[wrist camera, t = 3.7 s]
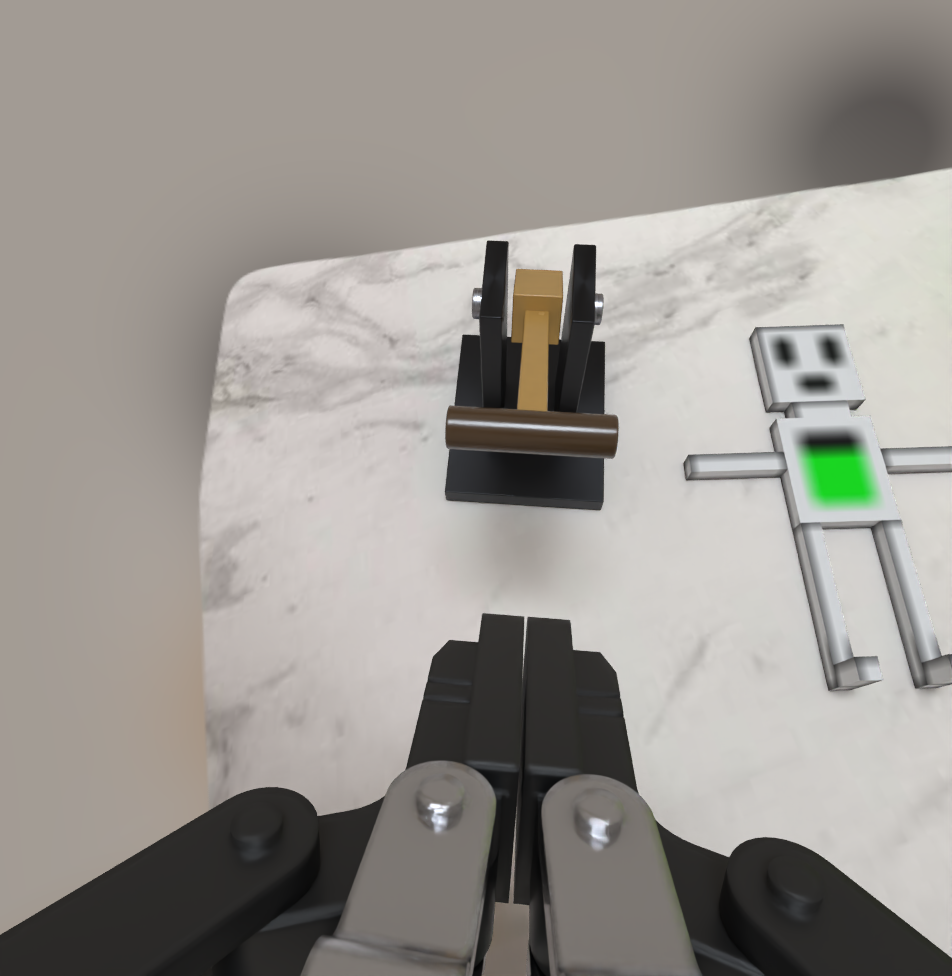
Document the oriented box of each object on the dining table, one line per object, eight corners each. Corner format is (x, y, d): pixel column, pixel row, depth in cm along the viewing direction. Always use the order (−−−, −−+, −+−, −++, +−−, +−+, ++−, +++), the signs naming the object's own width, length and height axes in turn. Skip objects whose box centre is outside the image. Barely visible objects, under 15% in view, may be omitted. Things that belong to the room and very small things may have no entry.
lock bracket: (600, 510, 40) (643, 390, 28) (446, 500, 40) (424, 378, 28) (602, 352, 44) (639, 193, 32) (463, 345, 45) (450, 186, 33)
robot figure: (1046, 684, 35) (922, 332, 44) (1097, 674, 32) (953, 298, 41) (721, 693, 35) (663, 341, 44) (741, 683, 32) (675, 308, 41)
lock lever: (611, 476, 25) (621, 422, 23) (445, 466, 25) (444, 411, 23) (597, 319, 34) (603, 272, 32) (475, 313, 34) (476, 266, 33)
